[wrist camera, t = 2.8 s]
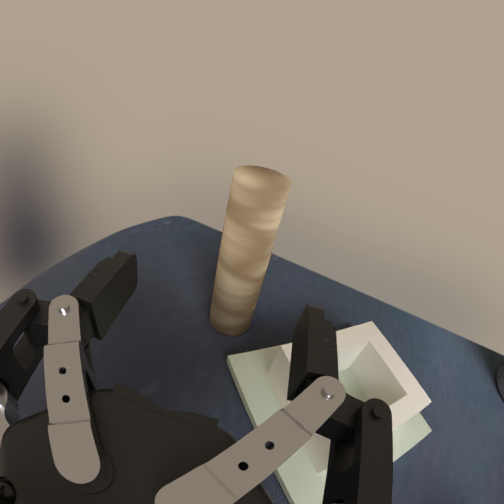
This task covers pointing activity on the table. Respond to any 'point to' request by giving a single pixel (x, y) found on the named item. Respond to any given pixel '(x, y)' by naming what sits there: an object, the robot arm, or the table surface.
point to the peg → (246, 245)
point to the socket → (356, 385)
